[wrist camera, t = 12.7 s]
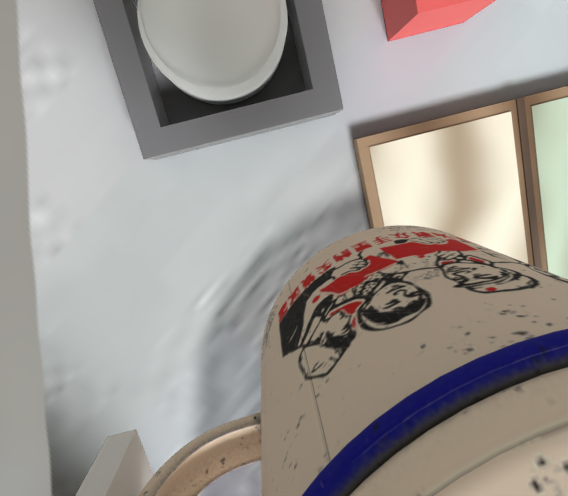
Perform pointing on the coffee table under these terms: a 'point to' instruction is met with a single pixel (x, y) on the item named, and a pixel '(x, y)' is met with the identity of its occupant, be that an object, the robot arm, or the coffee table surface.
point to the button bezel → (229, 124)
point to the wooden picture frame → (479, 177)
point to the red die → (426, 15)
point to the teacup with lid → (402, 378)
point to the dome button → (215, 44)
